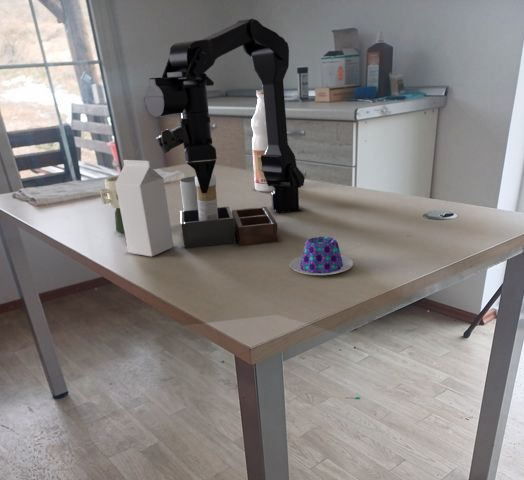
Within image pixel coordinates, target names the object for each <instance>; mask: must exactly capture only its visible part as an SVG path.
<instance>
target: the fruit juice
mask: <svg viewBox="0 0 524 480" xmlns="http://www.w3.org/2000/svg"><path fill="white" fill-rule="evenodd" d="M255 91H256V97H257V104H256V109H255V112H254V114H253V116H252V117H251V121H250V126H251V130H252V133H253V136H252V139H251V151H252V163H253V165H252V167H253V180H254V188H255V191H258V192H273V186H268V185H267V181H266V178H265V176H264V173H263V172H262V162H261V155H265V153H266V150H267V148H268V140H267V129H266V119H265V108H264V97H263V89H257V90H255Z"/></svg>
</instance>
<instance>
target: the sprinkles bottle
mask: <svg viewBox="0 0 524 480" xmlns="http://www.w3.org/2000/svg"><path fill="white" fill-rule="evenodd" d="M194 176H195V185H196V187H197V197H198V198H197V201H198V212H199V221H204V220H214V219H218V208H217V207H218V200H217V199H218V198H217V197H218V196H217V189H216V188H217V177H216V175H215V174H213V173H212V176H211V180H210V184H209V187H208V191H207V193H202V192H201V189H200V185H199V182H198V179H197V175H194Z"/></svg>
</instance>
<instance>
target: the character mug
mask: <svg viewBox="0 0 524 480" xmlns="http://www.w3.org/2000/svg"><path fill="white" fill-rule="evenodd" d="M118 177H119V175H117V176H116V175H115V176H111V177H108V178H105V179H104V186H105V188H103V189H101V190H100V192H99V193H100V194H99V195H100V198H101V203H102V204H103V205H107V204H109V206H110V207H111V208H114V209H115V210H114V221H115V222H114V223H115V224H114V225H115V231H116V232H117V233H119V234H122V235H123V234H124V235H125V231H124V226H123V221H122V216H121V211H120V206H119V200H118V195H117V190H116V185H115V182H116V180H117V178H118ZM106 195H107V198H106Z"/></svg>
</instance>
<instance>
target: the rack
mask: <svg viewBox="0 0 524 480" xmlns="http://www.w3.org/2000/svg"><path fill="white" fill-rule="evenodd" d="M231 214H232V216H233V219H234V231H235V236H236V237H237V240H238V244H239V245H240V246H244V245H245V246H246V245H247V246H248V245H256V244H266V243H267V244H268V243H276V242H277V243H278V242H279V230H278V229H279V227H278V222H277V221H276V219H275V217H274V216H273V215H272V213H271V212H270V210H269V209H268V207H267V206H258V207H250V208H249V207H248V208H239V209H231Z"/></svg>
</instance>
